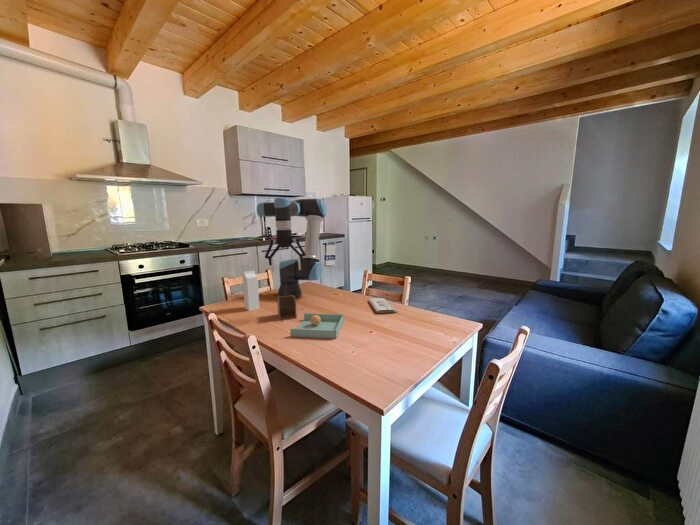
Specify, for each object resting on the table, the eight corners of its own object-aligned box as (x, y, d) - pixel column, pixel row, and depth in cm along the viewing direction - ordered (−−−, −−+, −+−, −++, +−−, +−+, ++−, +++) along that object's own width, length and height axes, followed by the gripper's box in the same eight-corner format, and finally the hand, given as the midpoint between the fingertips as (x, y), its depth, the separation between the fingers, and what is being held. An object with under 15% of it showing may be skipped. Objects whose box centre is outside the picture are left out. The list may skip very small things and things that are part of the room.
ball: (319, 318, 138) (323, 315, 135) (317, 328, 136) (320, 325, 132) (310, 315, 137) (313, 311, 133) (307, 324, 134) (310, 321, 131)
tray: (304, 319, 143) (304, 313, 142) (343, 321, 140) (343, 314, 139) (290, 336, 123) (290, 328, 122) (336, 338, 120) (335, 331, 120)
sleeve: (278, 315, 150) (277, 296, 148) (294, 313, 152) (293, 295, 151) (279, 320, 142) (278, 301, 140) (296, 318, 144) (295, 299, 143)
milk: (259, 309, 159) (257, 271, 155) (249, 312, 155) (246, 272, 151) (254, 307, 163) (252, 269, 160) (244, 309, 159) (241, 270, 156)
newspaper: (398, 313, 151) (398, 309, 151) (376, 314, 150) (376, 310, 149) (387, 301, 174) (387, 297, 173) (368, 302, 172) (368, 298, 172)
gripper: (257, 230, 135) (261, 274, 140) (309, 228, 142) (311, 270, 146) (257, 229, 142) (261, 270, 147) (307, 227, 149) (309, 267, 153)
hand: (286, 270), depth 147 cm, fingers open, 13 cm apart
